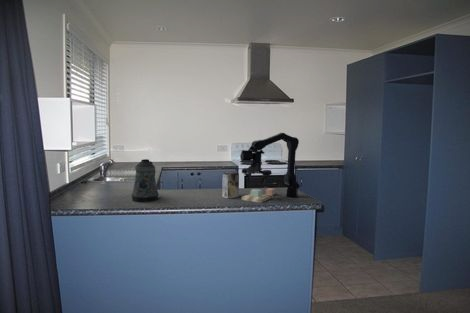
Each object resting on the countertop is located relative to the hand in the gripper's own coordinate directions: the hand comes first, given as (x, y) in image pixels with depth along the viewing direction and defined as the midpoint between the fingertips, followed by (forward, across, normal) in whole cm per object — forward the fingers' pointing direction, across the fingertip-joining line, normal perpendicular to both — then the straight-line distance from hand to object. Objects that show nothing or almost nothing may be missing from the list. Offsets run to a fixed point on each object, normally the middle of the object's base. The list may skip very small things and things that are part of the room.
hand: (256, 184), depth 216 cm
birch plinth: (+9, 0, 0) cm, 9 cm away
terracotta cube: (+9, +2, +17) cm, 20 cm away
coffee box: (+10, -17, -4) cm, 20 cm away
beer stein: (+10, -60, -38) cm, 71 cm away
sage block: (+7, 0, 0) cm, 7 cm away
